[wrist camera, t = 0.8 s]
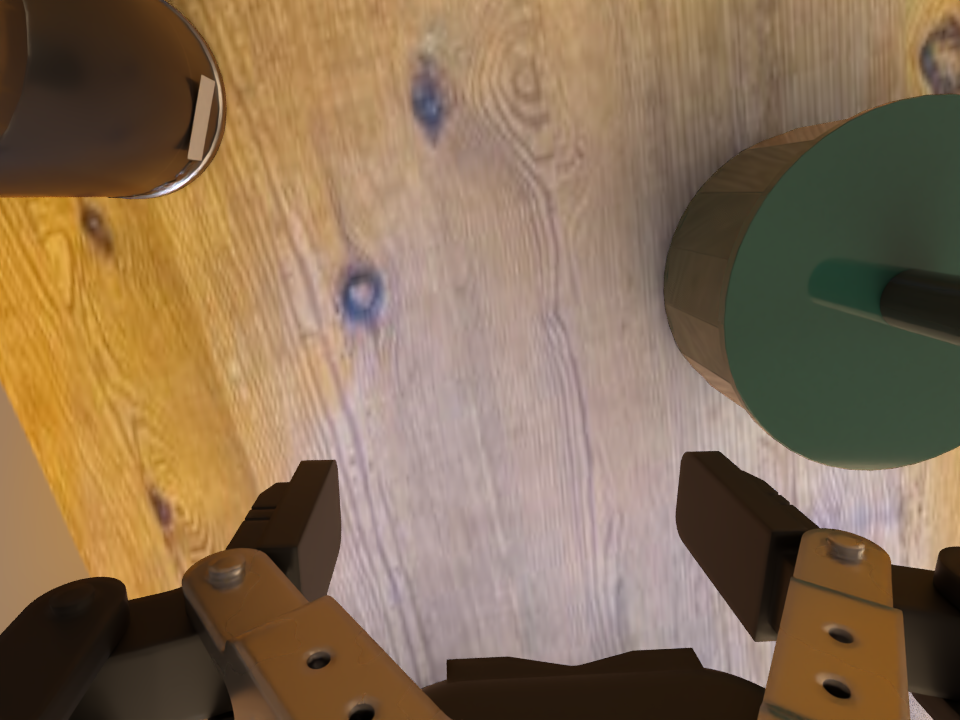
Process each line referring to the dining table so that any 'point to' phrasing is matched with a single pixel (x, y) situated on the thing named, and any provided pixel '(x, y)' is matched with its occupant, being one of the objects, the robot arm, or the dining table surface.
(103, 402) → the dining table surface
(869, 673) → the robot arm
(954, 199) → the lid
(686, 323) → the pot
